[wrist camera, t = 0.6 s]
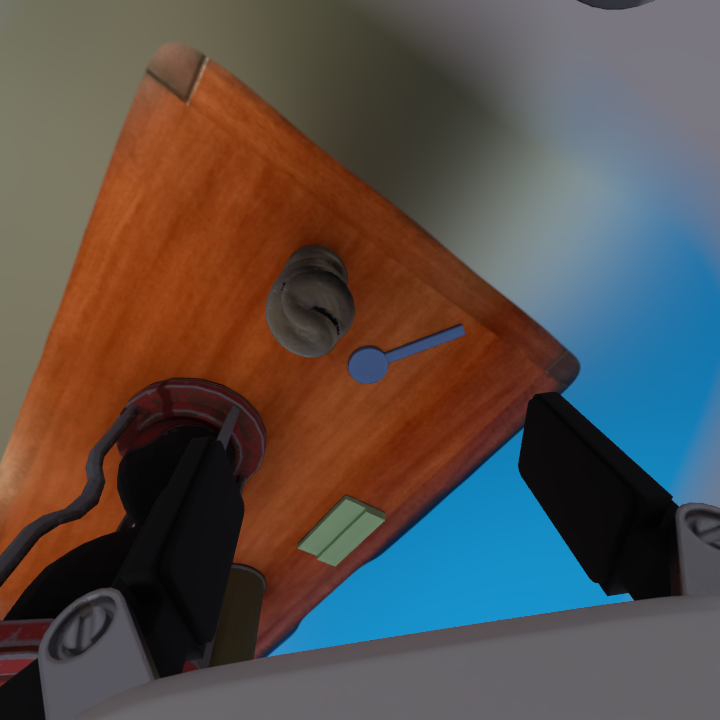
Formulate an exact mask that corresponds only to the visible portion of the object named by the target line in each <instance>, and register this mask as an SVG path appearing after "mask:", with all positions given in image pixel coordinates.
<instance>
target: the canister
mask: <svg viewBox="0 0 720 720" xmlns="http://www.w3.org/2000/svg"><path fill="white" fill-rule="evenodd" d="M265 587H266V582H265V579H264V577H263V576H262V575H261V574H260V573H259V572H258V571H257V570H255V569H253V568H251V567H248V566H244V565H239V564H232V566H231V570H230V575H229V579H228V583H227V587H226V591H225V595H224V600H223V604H222V608H221V612H220V616H219V620H218V625H217V629H216V633H215V636H214V638H213V640H212V642H209V643H207V644H206V648H205V652H204V656H203V659H198V662H197V665H198V666H199V667H200V668H201V669H204V668H210V667H215V666H221V665H226V664H232V663H237V662H243V661H248V660H253V659H254V652H255V646H256V639H257V632H258V625H259V618H260V612H261V605H262V598H263V592H264V591H265Z"/></svg>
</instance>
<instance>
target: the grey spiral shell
mask: <svg viewBox="0 0 720 720" xmlns="http://www.w3.org/2000/svg"><path fill="white" fill-rule="evenodd" d="M354 314H355V307H354V300H353V297H352V295H351V293H350V290H349V288H348V277H347V272H346V269H345V266H344V264H343V262H342V260H341V259H340V258H339V256H338V255H337V254H336V253H335V252H334V251H332V250H331V249H329V248H327V247H325V246H320V245H309V246H305V247H303V248H300V249H298V250H297V251H296V252H294V253H293V254H292V255H291V257H290V258H289V259H288V261H287V263H286V264H285V267H284V269H283V271H282V272H281V274H280V275H279V276H278V278H277V279H276V280H275V282H274V284H273V286H272V288H271V291H270V292H269V294H268V297H267V301H266V320H267V323H268V326H269V328H270V330H271V332H272V334H273V335H274V337H275V338H276V340H277V341H278V342H279V343H280V344H281V345H282V346H283V347H284V348H286V349H287V350H289V351H290V352H292V353H295V354H297V355H300V356H303V357H320V356H322V355H325V354H327V353H328V352H330V351H331V350H332V349H333V348H334V347H335V345H336V343H337V340H339V339H340V338H341V337H342V336H344V335H345V333H346V332H347V331H348V330H349V328H350V326H351V324H352V322H353V318H354Z"/></svg>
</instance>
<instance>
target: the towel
mask: <svg viewBox="0 0 720 720" xmlns="http://www.w3.org/2000/svg"><path fill="white" fill-rule="evenodd" d="M384 521H385V513H384V512H382V511H380V510H378V509H376V508H373V507H371V506H369V505H367V504H365V503H363V502H360V501H358V500H356V499H354V498H352V497H350V496H348V495H345V496H344V497H343V498H342V499H341V500H340V501H339V502H338V503H337V504H336V505H335V506H334V507H333V508H332V509H331V510H330V511H329V512H328V513H327V514H326V515H325V516H324V517H323V518H322V519H321V521H320V522H319V523H318V524H317V525H316V526H315V527H314V528H313V529H312V530H311V531H310V532H309V533H308V534H307V535H306V536H305V537H304V538H303V539H302V540H301V541H300V542H299V543H298V549H300V550H303V551H306V552H308V553H311V554H314V555H316V556H317V560H319V561H322V562H325V563H327V564H330V565H333V566H336V565H337V564H339V563H340V562H341V561H342V560H343V559H344V558H345V557H346V556H347V555H348V554H349V553H350V552H351V551H352V550H354V549H355V548H356V547H357V546H358V545H359V544H360V543H361V542H362V541H363V540H364V539H365V538H366V537H367V536H369V535H370V534H371V533H372V532H373V531H374V530H375V529H376V528H377V527H378V526H379V525H380V524H381V523H382V522H384Z"/></svg>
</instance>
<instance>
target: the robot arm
mask: <svg viewBox="0 0 720 720" xmlns="http://www.w3.org/2000/svg"><path fill="white" fill-rule="evenodd" d="M518 468H519V472H520V475H521V477H522V478H523V480H524V481H525V483H526V484H527V486H528V487H529V488H530V490H531V491H532V493H533V495H534V496H535V498H536V499H537V500H538V502H539V503H540V505H541V506H542V508H543V510H544V511H545V512H546V514H547V516H548V517H549V519H550V520H551V521H552V523H553V525H554V526H555V528H556V529H557V531H558V532H559V533H560V535H561V536H562V538H563V540H564V541H565V542H566V544H567V545H568V547H569V548H570V550H571V551H572V553H573V554H574V556H575V557H576V559H577V560H578V562H579V563H580V565H581V566H582V568H583V569H584V571H585V572H586V574H587V575H588V577H589V578H590V579H591V580H592V581H593V582H595V583H599V584H600V586H601V588H602V589H603V591H604V592H605V593H606V595H607V596H611V595H618V594H624V593H629V594H630V595H631V597H632V598H633V599H634V601H629V602H621V603H614V604H606V605H598V606H592V607H585V608H578V609H572V610H565V611H558V612H552V613H545V614H538V615H532V616H525V617H518V618H512V619H506V620H498V621H492V622H485V623H480V624H472V625H466V626H459V627H454V628H447V629H441V630H434V631H427V632H422V633H415V634H408V635H402V636H396V637H389V638H383V639H377V640H370V641H364V642H358V643H351V644H345V645H340V646H333V647H327V648H321V649H315V650H308V651H302V652H296V653H290V654H283V655H278V656H272V657H265V658H259V659H254V660H248V661H243V662H237V663H232V664H226V665H221V666H215V667H210V668H204V669H199V670H194V671H190V672H186V673H182V671H183V668H184V664H185V661H192V660H198V659H203V656H204V652H205V648H206V644H207V643H209V642H212V640H213V638H214V636H215V633H216V629H217V625H218V620H219V616H220V612H221V608H222V604H223V600H224V595H225V591H226V587H227V583H228V579H229V575H230V570H231V566H232V562H233V558H234V554H235V550H236V546H237V541H238V537H239V533H240V529H241V525H242V521H243V516H244V502H243V499H242V497H241V494H240V491H239V488H238V485H237V482H236V480H235V477H234V474H233V471H232V468H231V466H230V463H229V460H228V457H227V454H226V451H225V449H224V446H223V443H222V441H221V440H217V441H216V439H215V438H214V437H213V436H209V437H201V438H194V439H192V440H191V441H190V443H189V444H188V446H187V448H186V450H185V452H184V454H183V456H182V458H181V460H180V462H179V464H178V466H177V468H176V470H175V472H174V474H173V476H172V478H171V479H170V481H169V483H168V485H167V487H166V489H164V490H163V491H162V492H161V493H160V495H159V496H158V498H157V500H156V502H155V504H154V506H153V507H152V509H151V511H150V513H149V515H148V517H147V519H146V521H145V523H144V525H143V526H142V528H141V530H140V532H139V534H138V536H137V538H136V540H135V542H134V544H133V545H132V547H131V549H130V551H129V553H128V555H127V557H126V559H125V561H124V563H123V564H122V566H121V568H120V570H119V572H118V574H117V576H116V578H115V580H114V582H113V583H112V585H111V587H110V588H101V589H98V590H95V591H92V592H89V593H87V594H86V595H84V596H82V597H80V598H78V599H77V600H75V601H74V602H73V603H72V604H70V605H69V606H68V607H67V608H65V609H64V610H63V611H62V612H61V613H60V614H59V615H58V617H57V618H56V619H55V620H54V621H53V622H52V624H51V625H50V627H49V628H48V629H47V631H46V632H45V634H44V636H43V638H42V641H41V643H40V646H39V652H38V658H36V659H35V660H34V661H33V662H31V663H30V664H29V665H27V666H26V667H25V668H24V669H22V670H21V671H20V672H18V673H17V674H16V675H15V676H13V677H12V678H11V679H9V680H8V681H7V682H6V683H4V684H3V685H2V686H0V720H720V508H718V507H716V506H712V505H708V504H704V503H687V504H683V505H681V506H680V507H679V506H678V505H677V504H675V503H674V502H673V501H672V497H673V496H671V494H669V493H668V492H667V491H666V490H665V489H664V488H663V487H662V486H660V485H659V484H658V483H657V482H656V481H655V480H654V479H653V478H652V477H651V476H650V475H648V474H647V473H646V472H645V471H644V470H643V469H642V468H641V467H640V466H638V465H637V464H636V463H635V462H634V461H633V460H632V459H631V458H630V457H628V456H627V455H626V454H625V453H624V452H623V451H622V450H621V449H620V448H619V447H617V446H616V445H615V444H614V443H613V442H612V441H611V440H610V439H609V438H607V437H606V436H605V435H604V434H603V433H602V432H601V431H600V430H599V429H598V428H596V427H595V426H594V425H593V424H592V423H591V422H590V421H589V420H588V419H586V418H585V417H584V416H583V415H582V414H581V413H580V412H578V410H576V409H575V408H574V407H573V406H572V405H571V404H570V403H569V402H568V401H567V400H565V399H564V398H563V397H562V396H561V395H560V394H559V393H557V392H548V393H540V394H536V395H534V397H533V399H531V400H529V402H528V407H527V413H526V419H525V425H524V432H523V438H522V444H521V450H520V457H519V463H518Z"/></svg>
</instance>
